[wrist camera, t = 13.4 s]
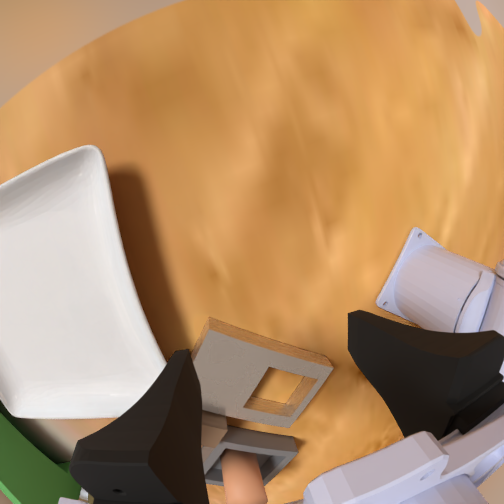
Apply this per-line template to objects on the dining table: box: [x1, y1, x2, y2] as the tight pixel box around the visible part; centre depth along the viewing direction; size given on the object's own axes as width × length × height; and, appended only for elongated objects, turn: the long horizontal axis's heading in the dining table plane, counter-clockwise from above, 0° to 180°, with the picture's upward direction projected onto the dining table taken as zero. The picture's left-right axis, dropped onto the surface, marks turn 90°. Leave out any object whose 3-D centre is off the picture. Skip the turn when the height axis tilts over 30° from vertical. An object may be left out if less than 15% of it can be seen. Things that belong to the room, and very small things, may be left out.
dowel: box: [220, 448, 268, 504], centre depth 23 cm, size 4×4×7 cm
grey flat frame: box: [191, 317, 334, 428], centre depth 24 cm, size 12×8×2 cm
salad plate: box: [0, 145, 167, 419], centre depth 18 cm, size 21×21×3 cm
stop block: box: [201, 410, 228, 448], centre depth 23 cm, size 5×3×4 cm, turn 64°
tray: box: [201, 425, 298, 486], centre depth 26 cm, size 9×9×2 cm
